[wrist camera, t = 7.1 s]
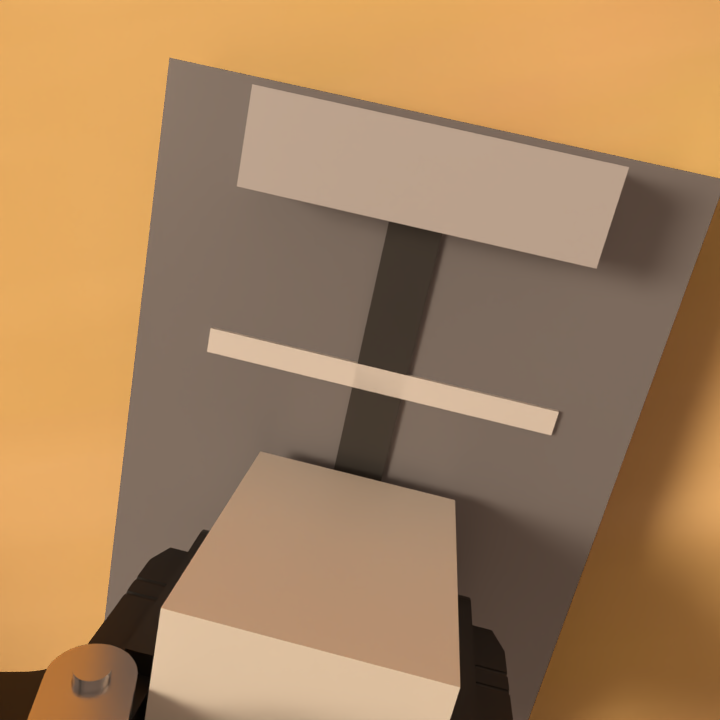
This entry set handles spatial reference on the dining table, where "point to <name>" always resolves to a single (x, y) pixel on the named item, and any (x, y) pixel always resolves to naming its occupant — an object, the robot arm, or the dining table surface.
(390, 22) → the dining table surface
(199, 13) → the dining table surface
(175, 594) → the fader knob
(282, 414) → the fader board
